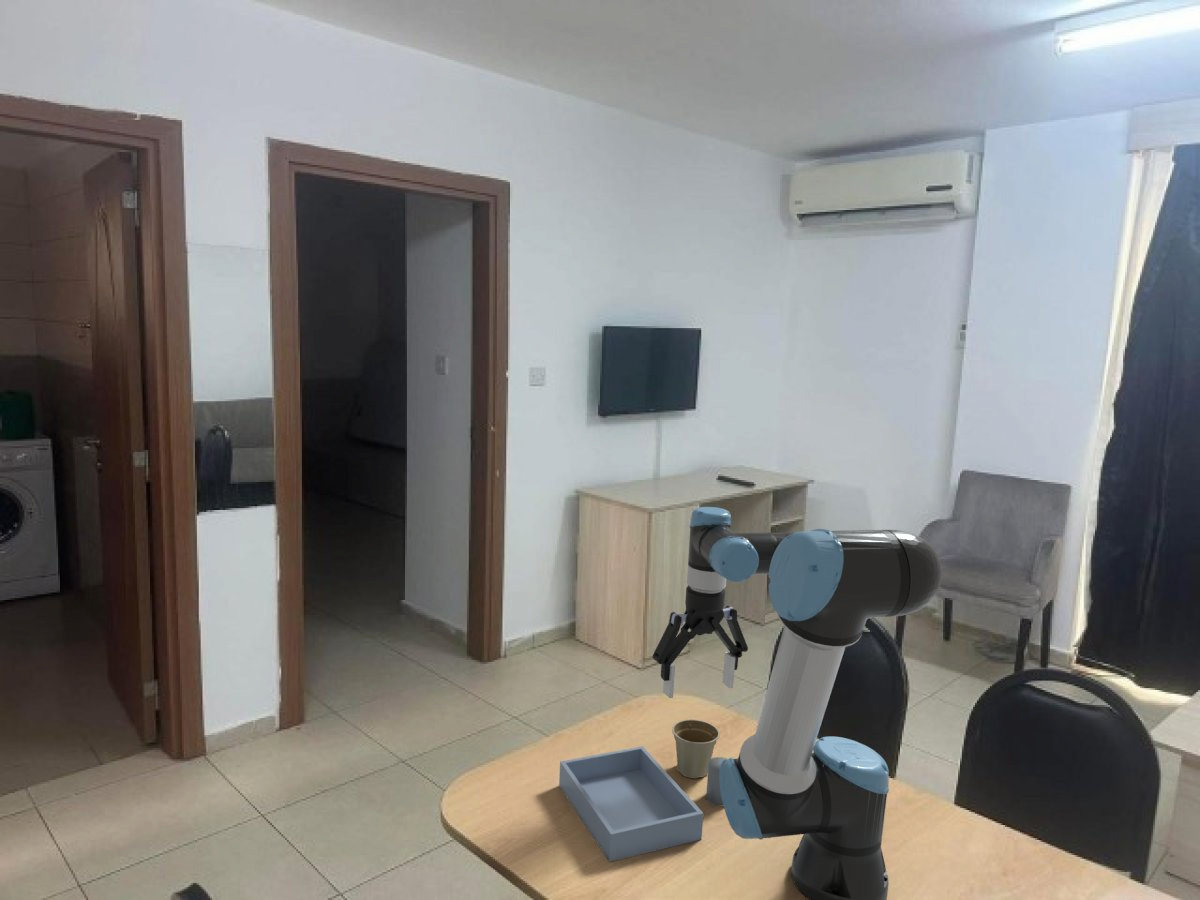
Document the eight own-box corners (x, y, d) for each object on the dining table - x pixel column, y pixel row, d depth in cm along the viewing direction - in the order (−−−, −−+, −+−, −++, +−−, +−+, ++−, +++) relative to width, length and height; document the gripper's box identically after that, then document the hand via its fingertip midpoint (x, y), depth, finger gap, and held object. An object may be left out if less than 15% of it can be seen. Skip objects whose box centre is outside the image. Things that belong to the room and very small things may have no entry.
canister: (737, 802, 155) (740, 768, 154) (714, 808, 153) (717, 773, 152) (723, 788, 160) (726, 755, 159) (701, 793, 158) (703, 759, 157)
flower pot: (719, 785, 161) (722, 744, 159) (671, 782, 161) (673, 741, 160) (713, 759, 170) (716, 720, 169) (668, 757, 170) (670, 718, 169)
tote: (701, 839, 144) (703, 813, 143) (609, 861, 137) (611, 834, 136) (641, 769, 165) (642, 746, 164) (559, 785, 158) (560, 761, 157)
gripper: (749, 575, 168) (741, 673, 171) (639, 586, 158) (633, 690, 161) (770, 587, 161) (762, 689, 164) (657, 599, 151) (650, 707, 154)
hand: (698, 690), depth 163 cm, fingers open, 13 cm apart
